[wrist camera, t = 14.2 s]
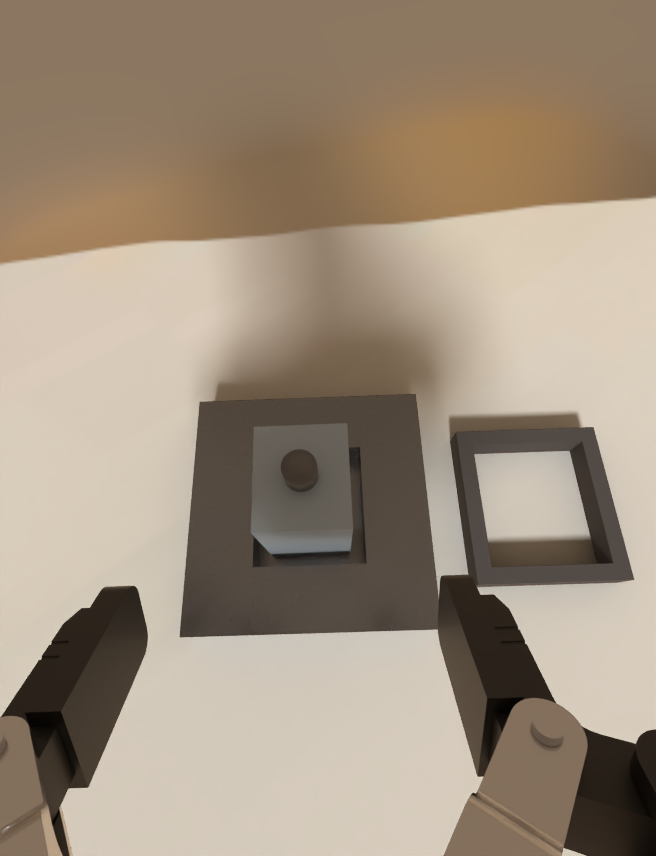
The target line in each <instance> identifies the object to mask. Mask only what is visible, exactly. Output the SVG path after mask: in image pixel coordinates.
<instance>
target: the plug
mask: <svg viewBox="0 0 656 856" xmlns="http://www.w3.org/2000/svg"><path fill="white" fill-rule="evenodd" d="M251 533H252V535H253V536H254V537H255V538H256V539H257V540H258V541H259V542H260V543H261V544H262V545H263V546H264V547H265V549H266V550H267V551H268V552H269V553H270V554H271V555H272V556H273V557H274V558H278V557H302V556H327V555H350V550H351V542H352V534H353V517H352V499H351V481H350V463H349V446H348V428H347V423H336V424H313V425H289V426H266V427H254V438H253V474H252V511H251Z"/></svg>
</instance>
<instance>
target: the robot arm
mask: <svg viewBox="0 0 656 856" xmlns="http://www.w3.org/2000/svg"><path fill="white" fill-rule="evenodd" d="M438 634H439V641H440V646H441V649H442V653H443V656H444V660H445V663H446V667H447V671H448V674H449V678H450V681H451V685H452V688H453V692H454V695H455V699H456V702H457V706H458V709H459V713H460V716H461V720H462V723H463V727H464V730H465V734H466V738H467V741H468V745H469V748H470V752H471V755H472V759H473V762H474V766H475V769H476V773H477V776H478V777H480V776H484V777H483V780H482V782H481V785H480V787H479V789H478V791H477V793H476V794H475V793H472V794H471V796H470V797H469V799H468V801H467V803H466V805H465V807H464V809H463V812H462V814H461V816H460V819H459V821H458V823H457V826H456V828H455V830H454V833H453V835H452V837H451V840H450V842H449V844H448V847H447V849H446V851H445V854H444V856H562V852H563V848H566V849H569V850H572V851H575V852H578V853H581V854H584V855H586V856H656V730H650V731H646V732H645V733H643V734H642V735H641V736H640V737H639V738H638V740H637V743H636V744H634V743H630V742H626V741H623V740H619V739H615V738H612V737H608V736H604V735H601V734H598V733H594V732H592V731H590V730H588V729H586V728H584V727H582V726H581V725H580V723H579V722H578V720H577V719H576V718H575V717H574V716H573V715H572V714H571V713H570V712H569V711H567V710H566V709H565V708H563V707H562V706H560V705H558V704H556V702H555V700H554V698H553V697H552V695H551V693H550V691H549V688H548V686H547V684H546V682H545V680H544V678H543V676H542V674H541V672H540V670H539V668H538V666H537V664H536V662H535V660H534V658H533V656H532V654H531V652H530V650H529V648H528V646H527V644H525V640H524V638H523V636H522V634H521V632H520V630H518V626H517V624H516V622H515V620H514V618H513V616H512V614H511V612H510V610H509V608H507V607H506V606H505V605H504V604H503V603H502V602H501V601H500V600H499V599H498V598H497V597H496V596H495V595H480V593H479V591H478V589H477V586H476V584H475V582H474V580H473V578H472V576H471V575H447V576H441V579H440V592H439V608H438ZM147 641H148V633H147V627H146V623H145V618H144V614H143V610H142V606H141V601H140V597H139V593H138V590H137V588H136V587H135V586H116V587H104V588H103V589H102V590H101V591H100V593H99V594H98V596H97V597H96V599H95V601H94V602H93V604H92V605H91V607H90V608H81V609H80V610H79V611H78V612H77V613H76V614H74V615H73V616H72V617H71V618H70V619H69V620H67V621H66V622H65V623H64V624H63V625H62V627H61V628H60V630H59V631H58V633H57V634H56V636H55V637H54V639H53V640H52V644H51V645H49V646H48V648H47V649H46V651H45V652H44V654H43V655H42V659H41V660H39V661H38V663H37V664H36V666H35V667H34V669H33V670H32V672H31V673H30V675H29V676H28V678H27V679H26V681H25V682H24V684H23V685H22V686H21V688H20V689H19V691H18V692H17V694H16V695H15V697H14V698H13V700H12V701H11V703H10V704H9V706H8V707H7V709H6V710H5V712H4V713H3V715H2V716H1V717H0V856H73V855H72V851H71V846H70V842H69V837H68V833H67V829H66V824H65V820H64V815H63V811H62V808H61V806H60V805H61V803H62V801H63V799H64V797H65V795H66V792H67V790H68V788H88V787H89V784H90V782H91V780H92V777H93V775H94V773H95V770H96V768H97V766H98V763H99V761H100V759H101V756H102V754H103V752H104V749H105V747H106V745H107V742H108V740H109V738H110V735H111V733H112V731H113V728H114V726H115V723H116V721H117V719H118V716H119V714H120V712H121V709H122V707H123V705H124V702H125V700H126V698H127V695H128V693H129V691H130V688H131V686H132V684H133V681H134V679H135V677H136V674H137V672H138V670H139V667H140V665H141V663H142V660H143V658H144V655H145V652H146V648H147Z"/></svg>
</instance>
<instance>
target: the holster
mask: <svg viewBox="0 0 656 856" xmlns="http://www.w3.org/2000/svg"><path fill="white" fill-rule="evenodd" d="M450 443H451V450H452V457H453V465H454V472H455V479H456V486H457V494H458V501H459V508H460V515H461V522H462V530H463V537H464V544H465V551H466V559H467V566H468V573H469V575H471V576H472V578H473V580H474V582H475V584H476V586H477V587H491V586H522V585H554V584H585V583H617V582H623V581H629V580H634V577H633V573H632V570H631V566H630V562H629V559H628V555H627V551H626V547H625V544H624V540H623V536H622V532H621V529H620V525H619V521H618V517H617V514H616V510H615V506H614V502H613V499H612V495H611V491H610V488H609V484H608V480H607V476H606V473H605V469H604V465H603V461H602V458H601V454H600V450H599V446H598V443H597V439H596V435H595V431H594V428H593V427H585V428H557V429H528V430H500V431H472V432H456V433H455V435H454V436H453V438H452V440H451V442H450ZM544 451H570V452H571V456H572V460H573V465H574V469H575V473H576V477H577V481H578V485H579V489H580V493H581V498H582V502H583V506H584V510H585V514H586V518H587V522H588V527H589V531H590V535H591V539H592V543H593V547H594V551H595V556H596V560H597V564H577V565H546V566H515V567H492V565H491V559H490V552H489V546H488V540H487V533H486V527H485V521H484V514H483V508H482V501H481V495H480V489H479V482H478V476H477V470H476V463H475V457H474V454H487V453H515V452H544Z"/></svg>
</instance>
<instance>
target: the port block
mask: <svg viewBox="0 0 656 856" xmlns="http://www.w3.org/2000/svg"><path fill="white" fill-rule="evenodd" d="M336 423H347V428H348V446H349V463H350V481H351V499H352V517H353V534H352V542H351V550H350V555H327V556H302V557H278V558H274V557H273V556H272V555H271V554H270V553H269V552H268V551H267V550H266V549H265V547H264V546H263V545H262V544H261V543H260V542H259V541H258V540H257V539H256V538H255V537H254V536H253V535H252V533H251V511H252V474H253V438H254V427H266V426H289V425H313V424H336ZM438 608H439V598H438V589H437V580H436V571H435V562H434V553H433V544H432V535H431V527H430V518H429V509H428V500H427V491H426V482H425V473H424V464H423V455H422V446H421V438H420V429H419V420H418V411H417V402H416V394H404V395H376V396H349V397H321V398H293V399H266V400H238V401H211V402H200V405H199V417H198V429H197V441H196V452H195V464H194V476H193V487H192V499H191V511H190V522H189V534H188V546H187V557H186V569H185V581H184V592H183V604H182V616H181V628H180V637H204V636H237V635H269V634H302V633H334V632H367V631H400V630H432V629H438Z"/></svg>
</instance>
